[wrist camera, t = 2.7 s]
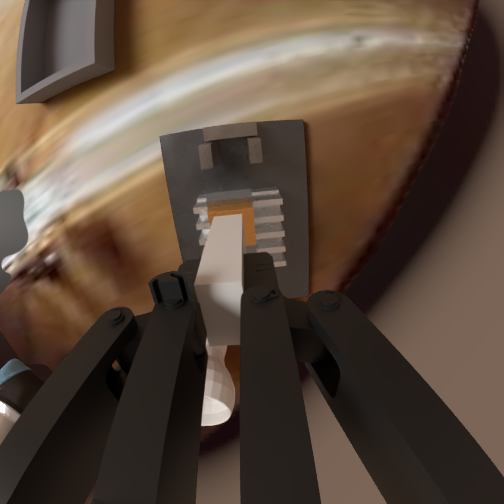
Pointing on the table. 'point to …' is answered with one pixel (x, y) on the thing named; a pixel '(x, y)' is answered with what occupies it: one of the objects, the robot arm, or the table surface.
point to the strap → (234, 211)
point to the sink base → (245, 177)
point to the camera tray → (62, 46)
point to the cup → (217, 388)
